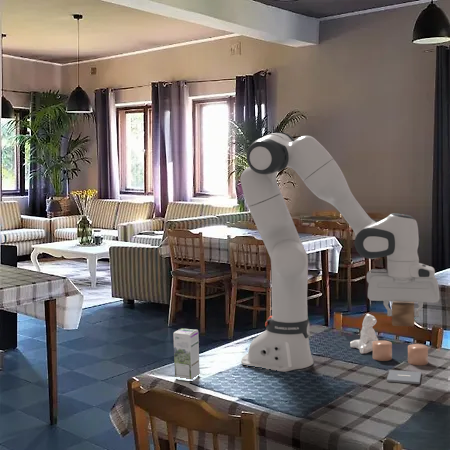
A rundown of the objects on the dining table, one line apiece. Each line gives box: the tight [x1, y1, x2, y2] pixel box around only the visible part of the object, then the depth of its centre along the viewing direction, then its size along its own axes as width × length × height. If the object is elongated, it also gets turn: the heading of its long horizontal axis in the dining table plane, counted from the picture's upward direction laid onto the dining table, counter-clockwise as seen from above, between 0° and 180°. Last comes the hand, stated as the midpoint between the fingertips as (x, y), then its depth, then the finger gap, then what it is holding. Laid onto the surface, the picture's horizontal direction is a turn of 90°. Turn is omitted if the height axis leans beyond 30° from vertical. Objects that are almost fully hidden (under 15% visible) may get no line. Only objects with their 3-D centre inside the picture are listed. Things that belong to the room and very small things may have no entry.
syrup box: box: [172, 328, 201, 379], centre depth 200 cm, size 6×6×14 cm
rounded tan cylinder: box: [372, 339, 393, 362], centre depth 216 cm, size 6×6×5 cm
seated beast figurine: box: [349, 313, 379, 354], centre depth 226 cm, size 10×9×12 cm
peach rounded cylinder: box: [407, 343, 429, 366], centre depth 210 cm, size 6×6×5 cm
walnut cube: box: [391, 301, 415, 327], centre depth 198 cm, size 6×6×6 cm
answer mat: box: [386, 369, 422, 385], centre depth 196 cm, size 9×9×1 cm
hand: (403, 316), depth 198 cm, fingers closed on walnut cube, 6 cm apart
